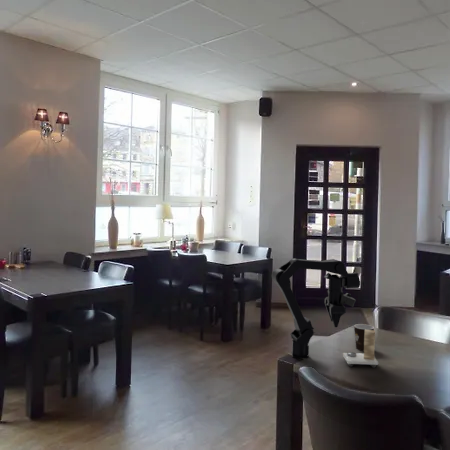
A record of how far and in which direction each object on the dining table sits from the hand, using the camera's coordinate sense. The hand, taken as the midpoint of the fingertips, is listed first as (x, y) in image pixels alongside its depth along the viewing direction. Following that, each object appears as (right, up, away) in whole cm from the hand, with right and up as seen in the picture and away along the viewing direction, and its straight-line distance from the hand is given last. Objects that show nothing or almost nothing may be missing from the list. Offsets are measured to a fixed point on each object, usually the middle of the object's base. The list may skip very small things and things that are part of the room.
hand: (334, 324), depth 197 cm
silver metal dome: (+5, -11, -9) cm, 15 cm away
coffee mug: (+16, -13, +10) cm, 22 cm away
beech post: (+12, -11, -11) cm, 20 cm away
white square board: (+8, -14, -11) cm, 19 cm away
